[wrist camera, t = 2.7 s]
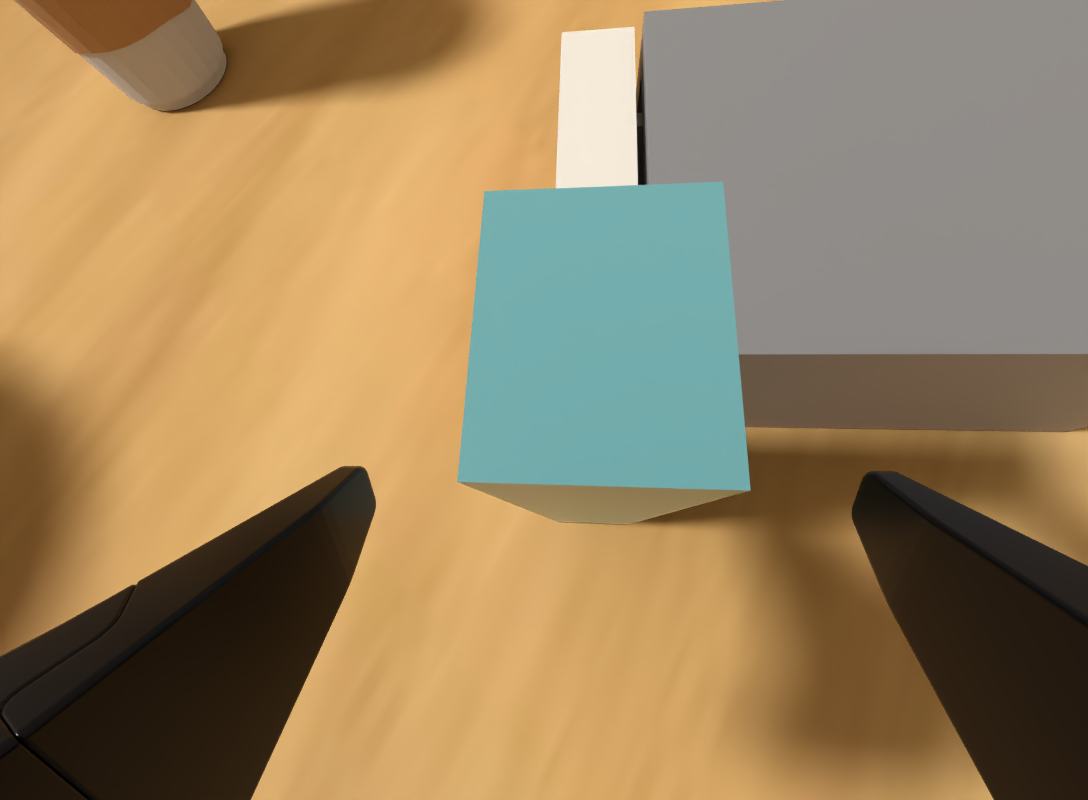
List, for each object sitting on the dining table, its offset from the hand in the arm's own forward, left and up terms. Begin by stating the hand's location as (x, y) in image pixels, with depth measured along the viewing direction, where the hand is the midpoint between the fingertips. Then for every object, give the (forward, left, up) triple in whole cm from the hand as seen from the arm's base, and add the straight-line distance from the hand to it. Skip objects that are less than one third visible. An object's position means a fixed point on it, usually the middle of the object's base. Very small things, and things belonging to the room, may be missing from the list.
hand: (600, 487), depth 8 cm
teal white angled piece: (0, -10, -8) cm, 13 cm away
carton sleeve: (0, -13, -10) cm, 17 cm away
